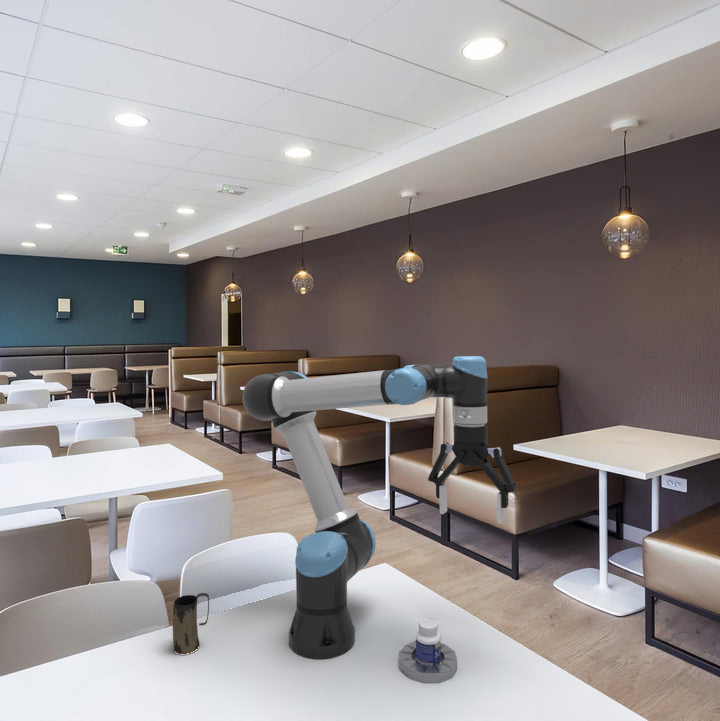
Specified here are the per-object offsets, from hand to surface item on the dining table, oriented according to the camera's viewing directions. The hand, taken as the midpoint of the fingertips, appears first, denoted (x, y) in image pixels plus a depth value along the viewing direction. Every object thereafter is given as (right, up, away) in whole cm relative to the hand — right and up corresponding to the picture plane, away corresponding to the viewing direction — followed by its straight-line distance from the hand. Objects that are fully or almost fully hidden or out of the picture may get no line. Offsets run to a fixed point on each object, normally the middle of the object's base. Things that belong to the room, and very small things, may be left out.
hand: (471, 517), depth 125 cm
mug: (-63, -29, -1) cm, 70 cm away
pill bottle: (-11, -29, -8) cm, 32 cm away
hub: (-11, -29, -8) cm, 32 cm away
